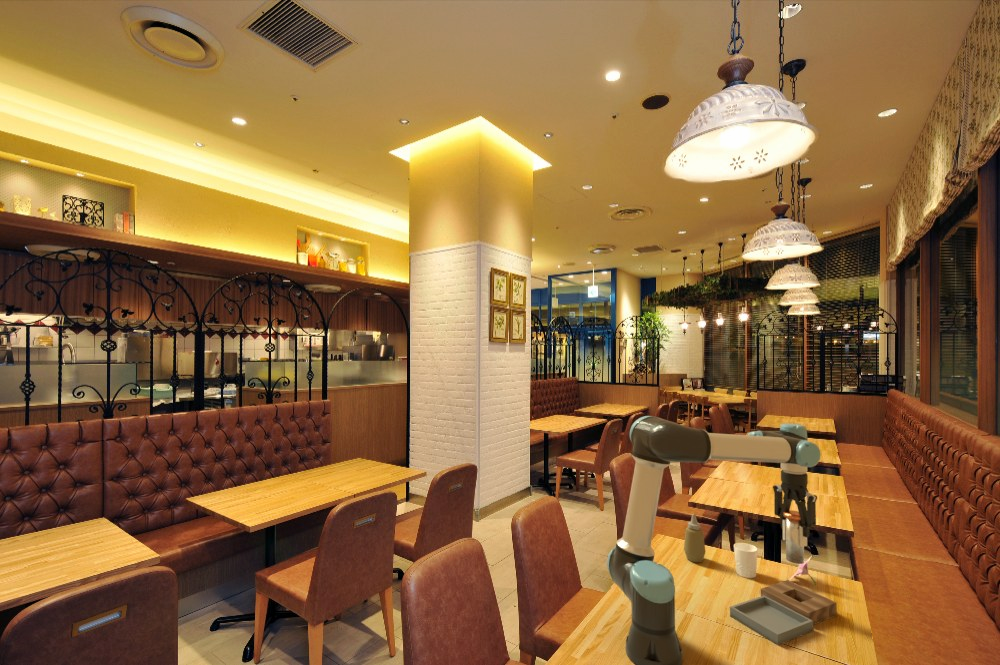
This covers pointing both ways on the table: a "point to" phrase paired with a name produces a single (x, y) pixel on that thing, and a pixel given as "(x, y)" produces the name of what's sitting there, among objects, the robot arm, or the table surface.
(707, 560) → the table surface
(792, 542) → the copper-capped cylinder
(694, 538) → the squeeze bottle
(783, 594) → the socket block
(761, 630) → the tray
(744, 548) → the white cup
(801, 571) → the lily
